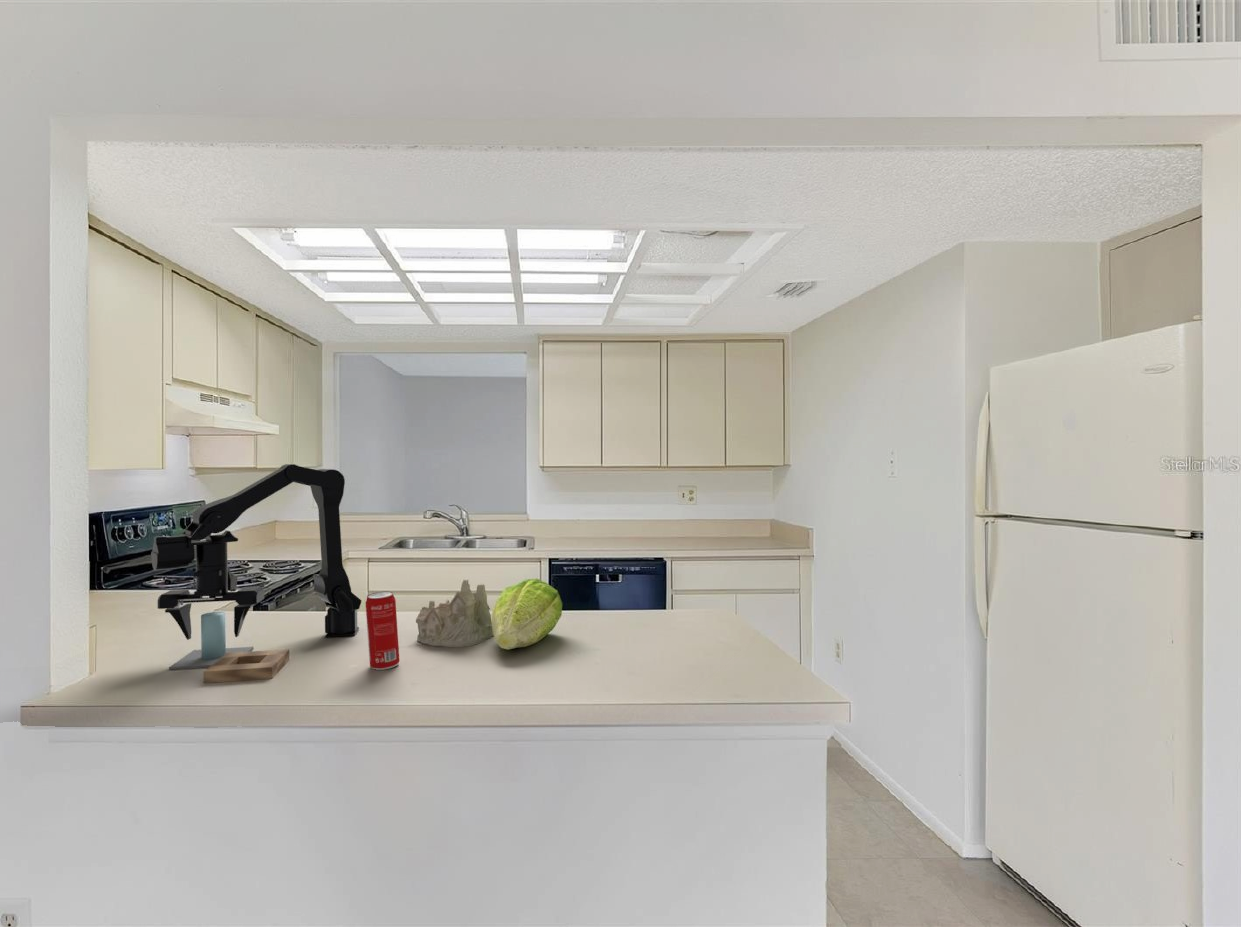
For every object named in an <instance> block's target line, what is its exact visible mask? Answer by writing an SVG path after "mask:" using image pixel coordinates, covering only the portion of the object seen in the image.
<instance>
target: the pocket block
mask: <svg viewBox="0 0 1241 927" xmlns="http://www.w3.org/2000/svg"><path fill="white" fill-rule="evenodd" d="M289 661H290V649H289V648H287V649H286V648H285V649H272V650H271V649H268V650H254V651H253V650H252V651H250V652H234V653H226V654H225V655H224V656H222V657H221V658H220V659H219V660H217V661H216V662H215V663H214V664H212V665H211V666H210V667H207V668H206V669H205V670H203V683H204V684H207V683H208V684H209V683H211V684H212V683H223V682H224V683H225V682H239V681H240V682H241V681H254V680H266V679H267V680H268V679H273V678H274V677H275V676H276V675H277V674H278V673H279V671H280V672H281V669H282V668H284V666H285V665H286V664H287V663H288V662H289Z"/></svg>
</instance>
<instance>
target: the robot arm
mask: <svg viewBox="0 0 1241 927" xmlns="http://www.w3.org/2000/svg"><path fill="white" fill-rule="evenodd" d="M345 480H346V479H345V476H344V474H343V473H342V472H341V471H339V470H337V469H331V468H319V469H315V468H310V467H304V466H300V465H298V464H295V463H294V464H293V463H292V464H291V463H287V464H286V463H285V464H283V465H281V466H280V467H279V468H278V469H276V470H275V471H273V472H270V473H269V474H268V475H266V476H264V477H262V478H260V479H258V480H257V481H255V482H253V483H252V484H250V485H248V486H246V487H245V488H242V489H241V490H239V491H238V492H235V493H234V494H232V495H230V496H227V497H224V498H220V499H217V500H214V501H212V502H211V501H210V502H208V503H206V504H203V505H200V506H199V507H198V508H196V509H195V510H194V512H193V514H192V521H191V522H190V524H188V526H187V527H186V528H185V529H184V531H183V532H182V533H181V535H170V536H164V535H160V536H159V535H158V536H154V537H153V541H154V542H153V543H152V544H153V545H152V551H151V553H150V558H151V565H152V568H153V571H154V572H155V571H163V570H173V569H181V568H182V569H183V568H184V569H185V568H188V567H189V565H190V564H192V563H193V562H194V560H195V571H193V578H195V579H196V580H195V581H196V582H195V584H196V586H195V587H196V588H195V589H196V590H194V592H193V593H191V592H190V590H189V589H173V590H172V589H171V590H168V591H166V592H164V593H161V594H160V595H159V596H158V599H157V609H158V610H164V613H167V614H168V613H169V614H170V616H172V618H173V619H174V620H175V622H176V623H177V625H178V627H179V629H180V630H181V632H182V634H183V635H184V637H185V639H186V640H187V641H189V640H190V639H192V623H191V622H192V621H191V620H192V619H191V609H192V603H209V602H210V603H211V602H234V601H235V603H237V605H235V606H234V607H233V632H234V637H235V638H238V637H239V636H240V633H241V631H242V627H243V625H244V621H245V618H246V616H247V615H248V612H249V611H250V609H251V608H252V607H254V606H256V605H257V604H259V603H260V602H261V601H263V600H264V599H265V590H264V588H263V587H262V586H244V587H241V588H240V589H239V590H237V585H238V584H237V583H238V576H237V575H235V574H232V573H231V569H230V566H228V543H234V542H238V541H239V538H238V537H237V536H235V535H234V534H233V533H232V532H231V531H230V530H226V529H228V528H229V527H230V526H232V525H233V523H234V522H236V521H237V520H238V519H239V518H240V516H241V515H243V513H245V512H246V511H247V510H249V509H250V508H252V507H254V506H256V505H257V504H259V503H260V502H262V501H264V500H265V499H267V498H269V497H271V496H272V495H274V494H275V493H277V492H279V491H282V489H284V488H287V486H289V485H291V484H293V483H295V484H300V485H303V486H309V487H310V490H311V494H312V497H313V499H314V502H315V503H316V506H317V509H318V524H319V525H318V526H319V527H318V528H319V540H320V541H319V542H320V555H321V556H320V557H321V568H320V570H319V574H318V573H317V574H313V575H312V579H313V581H314V583H313V584H314V587H313V592H316V595H317V597H318V599H320V600H321V601H322V602H323V603H324V605H325V607H327V610H326V611H327V612H326V615H325V616H324V633H325V638H334V637H335V638H336V637H339V638H340V637H351V636H352V637H354V636H355V635H356V634H357V633H358V632H359V630H360V627H359V626H358V610H360V607H361V605H362V599H361V598H359V597H358V596H357V595H355V593H353V592H352V587H351V582H350V579H349V576H348V574H347V571H346V570H345V568H344V564H343V550H342V548H343V547H342V537H341V536H342V533H341V519H340V517H341V516H340V505H341V502H342V500H343V497H344V492H345V484H346V483H345V482H346V481H345ZM219 533H221V534H219Z"/></svg>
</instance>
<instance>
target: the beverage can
mask: <svg viewBox="0 0 1241 927" xmlns="http://www.w3.org/2000/svg"><path fill="white" fill-rule="evenodd" d="M396 601H397V600H396V598H395V595H394V592H393V591H387V590H386V591H385V590H383V591H377V592H372V593H370V594H368V595H367V596H366V600H365V613H366V614H365V615H366V617H365V618H366V630H367V640H368V641H367V642H368V643H367V644H368V657H369V658H368V659H369V666H370V668H371V669H372V670H375V669H376V670H375V671H384V670H388V669H392V668H395V667H397V666H398V665H399V663H400V650H399V649H400V647H399V635H398V633H399V632H398V617H397V607H396V606H397V605H396V604H397V602H396Z"/></svg>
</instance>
